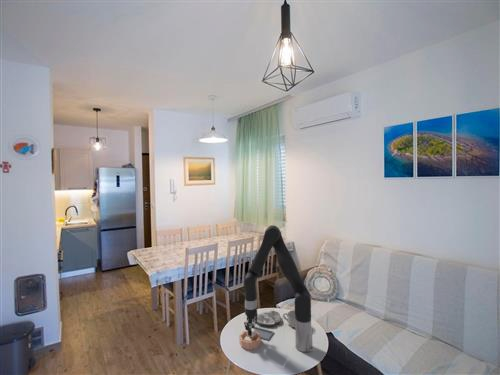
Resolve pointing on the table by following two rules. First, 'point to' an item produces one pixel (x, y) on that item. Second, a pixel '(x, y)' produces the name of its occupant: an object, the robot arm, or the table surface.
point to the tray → (264, 333)
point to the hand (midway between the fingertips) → (251, 333)
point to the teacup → (290, 318)
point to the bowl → (251, 344)
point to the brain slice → (268, 318)
